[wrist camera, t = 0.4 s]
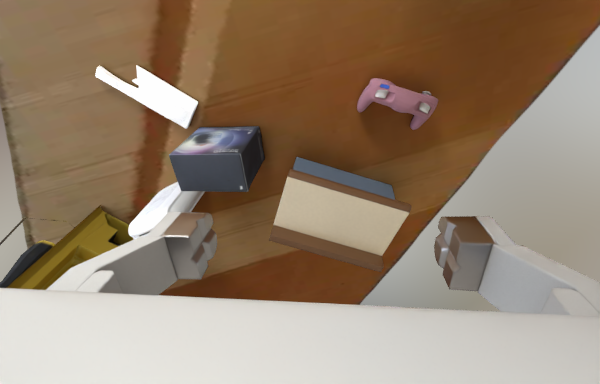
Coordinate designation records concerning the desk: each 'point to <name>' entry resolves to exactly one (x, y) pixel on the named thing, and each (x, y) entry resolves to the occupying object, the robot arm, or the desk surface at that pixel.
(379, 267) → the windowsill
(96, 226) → the yellow upright casing
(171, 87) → the white plastic blade
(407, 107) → the video game controller
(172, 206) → the photo printer
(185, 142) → the small box
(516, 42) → the desk surface
